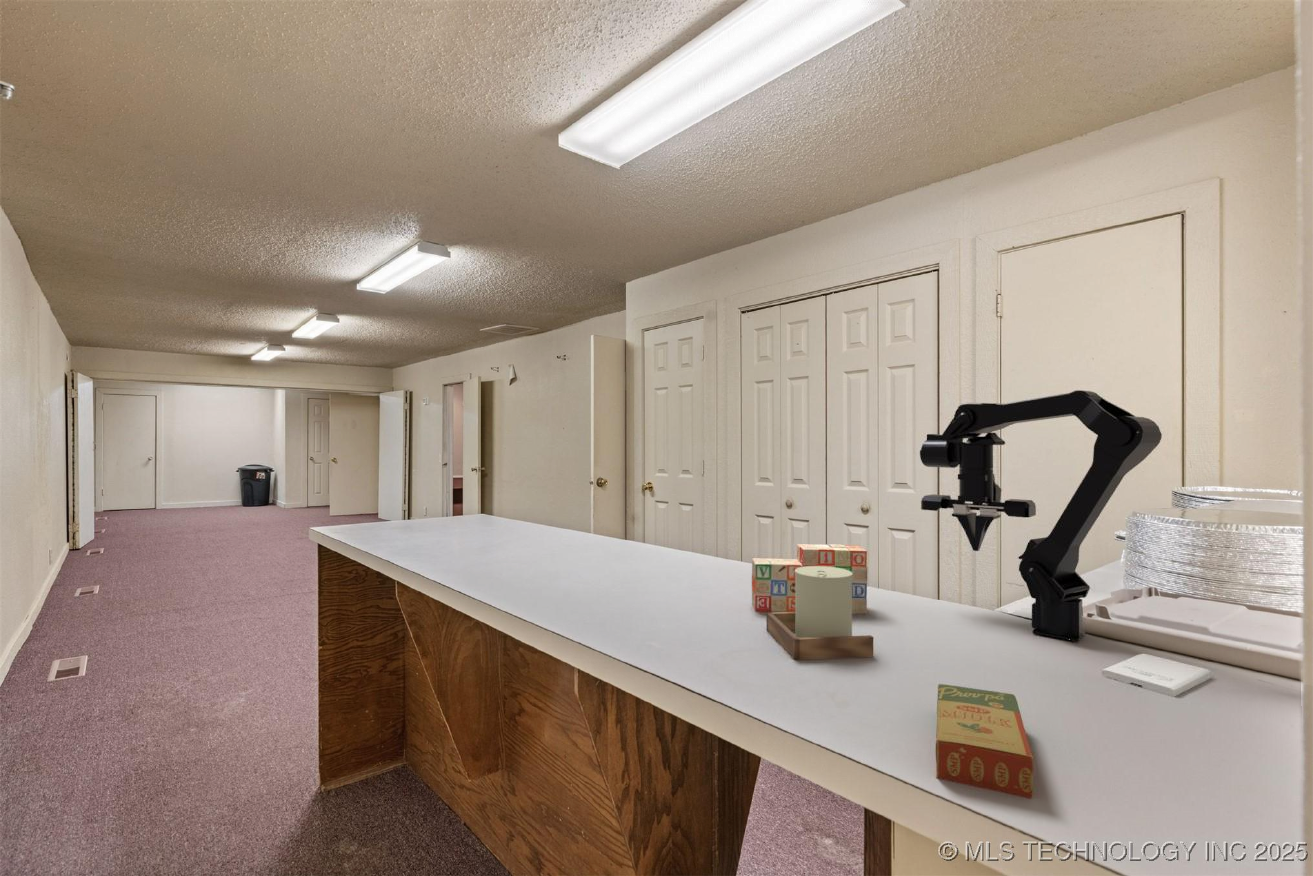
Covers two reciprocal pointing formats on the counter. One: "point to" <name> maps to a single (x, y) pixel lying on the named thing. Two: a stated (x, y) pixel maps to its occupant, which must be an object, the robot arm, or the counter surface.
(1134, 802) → the counter surface
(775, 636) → the walnut bay
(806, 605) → the can
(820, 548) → the stack of blocks
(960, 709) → the carton
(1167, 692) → the external hard drive
